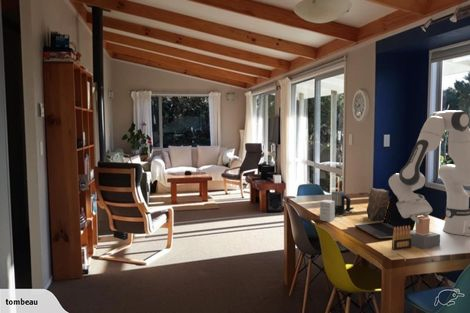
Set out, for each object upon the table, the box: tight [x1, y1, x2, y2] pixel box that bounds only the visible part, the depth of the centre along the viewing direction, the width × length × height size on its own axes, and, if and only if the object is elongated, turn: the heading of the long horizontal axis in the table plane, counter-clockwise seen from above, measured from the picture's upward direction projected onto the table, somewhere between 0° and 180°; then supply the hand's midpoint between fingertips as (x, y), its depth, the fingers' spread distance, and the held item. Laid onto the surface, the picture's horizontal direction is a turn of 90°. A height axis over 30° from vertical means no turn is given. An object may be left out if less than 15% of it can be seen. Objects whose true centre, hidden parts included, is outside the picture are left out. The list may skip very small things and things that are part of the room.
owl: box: [366, 187, 390, 222], centre depth 259 cm, size 13×13×20 cm
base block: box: [410, 229, 441, 250], centre depth 208 cm, size 12×12×6 cm
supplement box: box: [319, 199, 336, 223], centre depth 260 cm, size 7×7×13 cm
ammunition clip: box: [391, 224, 412, 251], centre depth 202 cm, size 11×2×12 cm, turn 107°
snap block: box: [415, 215, 431, 234], centre depth 207 cm, size 5×5×9 cm
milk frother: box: [331, 190, 355, 215], centre depth 279 cm, size 14×16×15 cm
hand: (423, 222), depth 207 cm, fingers open, 6 cm apart
